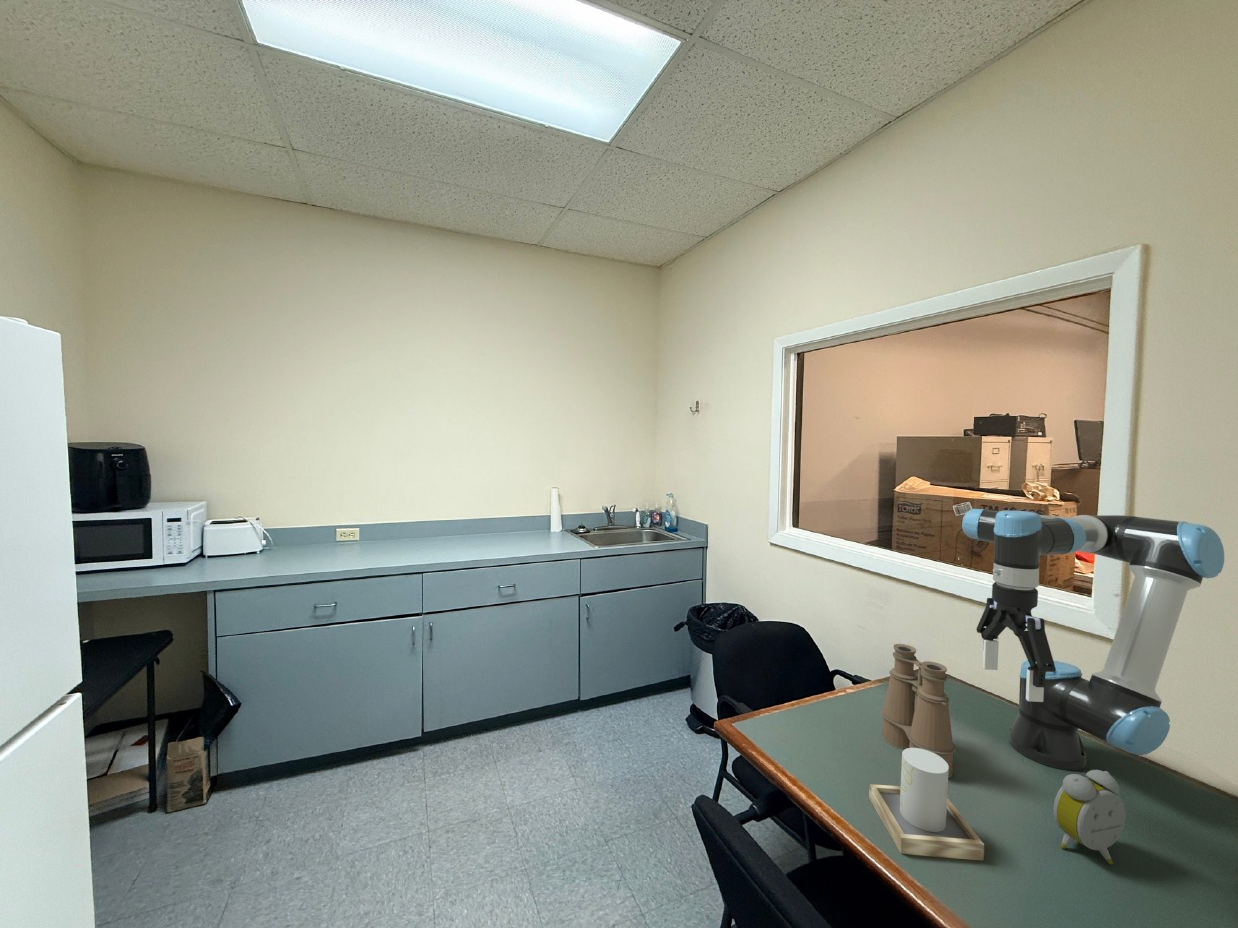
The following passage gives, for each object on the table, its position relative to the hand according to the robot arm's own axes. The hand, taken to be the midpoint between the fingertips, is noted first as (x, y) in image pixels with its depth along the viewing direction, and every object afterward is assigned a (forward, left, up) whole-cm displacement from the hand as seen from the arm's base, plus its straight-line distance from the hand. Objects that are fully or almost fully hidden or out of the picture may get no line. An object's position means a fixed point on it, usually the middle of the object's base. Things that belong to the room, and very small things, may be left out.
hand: (1010, 683), depth 105 cm
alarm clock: (-10, +9, -29) cm, 32 cm away
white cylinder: (+20, +6, -26) cm, 33 cm away
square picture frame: (+20, +6, -28) cm, 35 cm away
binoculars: (+9, -20, -29) cm, 36 cm away
